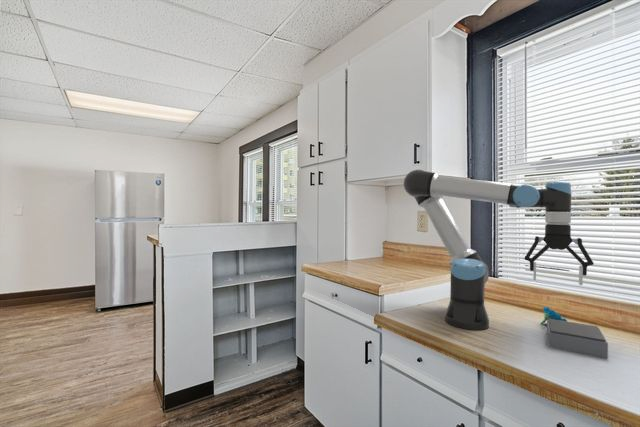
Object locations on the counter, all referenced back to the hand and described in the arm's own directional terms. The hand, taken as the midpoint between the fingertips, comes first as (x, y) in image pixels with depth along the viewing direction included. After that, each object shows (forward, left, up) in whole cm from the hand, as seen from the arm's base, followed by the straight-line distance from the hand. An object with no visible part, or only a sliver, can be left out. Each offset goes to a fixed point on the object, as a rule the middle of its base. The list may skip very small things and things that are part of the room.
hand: (556, 282), depth 119 cm
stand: (+4, -15, -17) cm, 23 cm away
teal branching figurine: (0, 0, -17) cm, 17 cm away
